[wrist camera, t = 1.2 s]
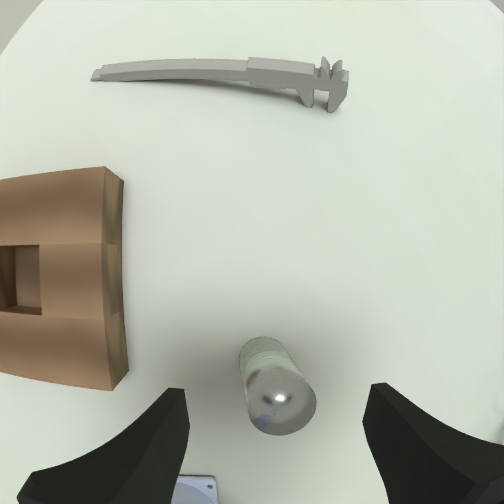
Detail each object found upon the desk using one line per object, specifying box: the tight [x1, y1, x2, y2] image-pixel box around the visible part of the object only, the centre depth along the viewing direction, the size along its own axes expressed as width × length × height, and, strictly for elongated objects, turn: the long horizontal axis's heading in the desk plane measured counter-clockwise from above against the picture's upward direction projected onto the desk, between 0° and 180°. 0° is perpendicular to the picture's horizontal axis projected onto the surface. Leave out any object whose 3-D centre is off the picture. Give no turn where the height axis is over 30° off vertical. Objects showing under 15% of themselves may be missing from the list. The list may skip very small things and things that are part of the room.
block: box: [0, 166, 129, 391], centre depth 19 cm, size 14×14×4 cm
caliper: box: [91, 57, 349, 112], centre depth 19 cm, size 20×1×6 cm, turn 81°
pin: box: [239, 337, 316, 435], centre depth 18 cm, size 3×3×8 cm
